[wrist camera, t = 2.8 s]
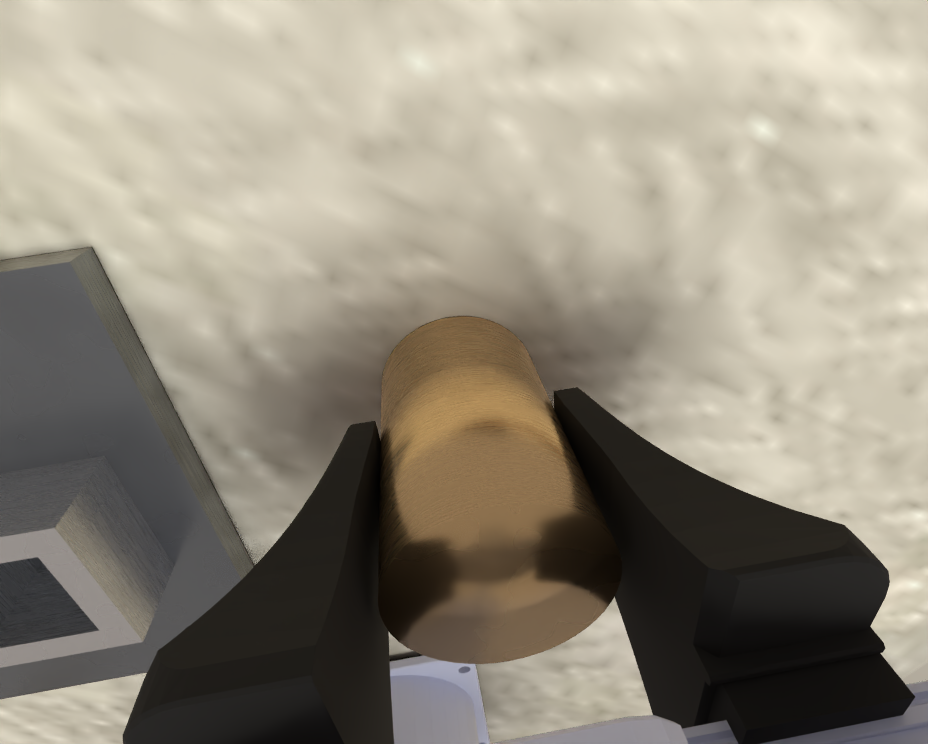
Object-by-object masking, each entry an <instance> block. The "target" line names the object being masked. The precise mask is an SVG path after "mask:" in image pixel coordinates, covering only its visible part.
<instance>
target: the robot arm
mask: <svg viewBox="0 0 928 744" xmlns="http://www.w3.org/2000/svg"><path fill="white" fill-rule="evenodd" d="M554 410H555V412H556V415H557V417H558V419H559V421H560V423H561V425H562V428H563V430H564V432H565V434H566V436H567V439H568V441H569V443H570V445H571V447H572V449H573V452H574V454H575V456H576V458H577V460H578V462H579V465H580V467H581V469H582V471H583V473H584V475H585V478H586V480H587V482H588V484H589V486H590V488H591V491H592V493H593V495H594V497H595V499H596V502H597V504H598V506H599V508H600V510H601V512H602V515H603V517H604V519H605V521H606V523H607V525H608V528H609V530H610V532H611V534H612V536H613V538H614V541H615V543H616V545H617V547H618V549H619V551H620V555H621V560H622V576H621V582H620V584H619V587H618V590H617V592H616V594H615V599H616V602H617V605H618V607H619V610H620V613H621V616H622V619H623V622H624V625H625V628H626V631H627V634H628V637H629V640H630V643H631V646H632V649H633V652H634V655H635V658H636V662H637V665H638V668H639V671H640V674H641V677H642V680H643V684H644V687H645V690H646V693H647V696H648V700H649V703H650V706H651V710H652V713H653V715H650V716H634V717H624V718H619V719H614V720H609V721H604V722H598V723H593V724H588V725H583V726H578V727H573V728H568V729H563V730H557V731H552V732H547V733H542V734H537V735H532V736H527V737H522V738H516V739H511V740H506V741H501V742H496V743H491V744H928V680H927V681H922V682H917V683H912V684H907V685H905V683H904V682H903V681H902V680H901V678H900V677H899V676H898V675H897V674H896V672H895V671H894V670H893V669H892V667H891V666H890V665H889V664H888V662H887V661H886V660H885V659H884V658H883V656H882V655H881V654H880V653H882V652H883V651H884V650H885V646H884V643H883V642H882V640H881V639H880V638H879V637H878V636H877V634H876V633H875V632H874V631H873V630H872V628H871V627H870V626H871V624H872V622H873V620H874V618H875V616H876V614H877V612H878V610H879V608H880V607H881V605H882V603H883V601H884V599H885V597H886V594H887V590H888V587H889V583H890V580H889V573H888V570H887V569H886V568H885V567H884V565H883V564H882V563H881V562H880V561H879V560H878V559H877V558H876V556H875V555H874V554H873V553H872V552H871V551H870V550H869V549H868V548H867V547H866V546H865V545H864V544H863V543H862V542H861V541H860V540H859V539H858V538H857V537H856V536H855V535H854V534H853V533H852V532H851V531H850V530H849V529H848V528H847V527H846V526H845V525H842V524H839V523H835V522H832V521H829V520H825V519H822V518H819V517H815V516H812V515H808V514H805V513H802V512H798V511H795V510H792V509H789V508H786V507H783V506H780V505H778V504H775V503H772V502H769V501H767V500H764V499H761V498H758V497H756V496H753V495H751V494H748V493H746V492H743V491H741V490H739V489H736V488H734V487H732V486H730V485H727V484H725V483H723V482H721V481H718V480H716V479H714V478H712V477H710V476H708V475H706V474H704V473H702V472H700V471H698V470H696V469H694V468H692V467H690V466H688V465H687V464H685V463H683V462H681V461H679V460H677V459H676V458H674V457H672V456H670V455H669V454H667V453H665V452H664V451H662V450H661V449H659V448H657V447H656V446H654V445H653V444H651V443H650V442H648V441H647V440H645V439H644V438H642V437H641V436H639V435H638V434H636V433H635V432H634V431H632V430H631V429H630V428H628V427H627V426H626V425H624V424H623V423H621V422H620V421H619V420H617V419H616V418H615V417H614V416H612V415H611V414H610V413H609V412H607V411H606V410H605V409H604V408H602V407H601V406H600V405H599V404H597V403H596V402H595V401H594V400H592V399H591V398H590V397H589V396H588V395H586V394H585V393H584V392H582V391H581V390H580V389H579V388H577V387H576V388H570V389H564V390H558V391H554ZM380 450H381V442H380V438H379V434H378V430H377V426H376V422H375V421H371V422H365V423H359V424H353V425H351V426H350V427H349V428H348V430H347V432H346V434H345V436H344V438H343V440H342V442H341V444H340V446H339V448H338V450H337V452H336V453H335V455H334V457H333V459H332V461H331V463H330V464H329V466H328V468H327V470H326V471H325V473H324V475H323V476H322V478H321V480H320V481H319V483H318V485H317V486H316V488H315V490H314V491H313V493H312V494H311V496H310V497H309V499H308V500H307V502H306V503H305V505H304V506H303V508H302V509H301V511H300V512H299V513H298V515H297V516H296V517H295V519H294V520H293V522H292V523H291V524H290V526H289V527H288V528H287V529H286V531H285V532H284V533H283V534H282V536H281V537H280V538H279V539H278V541H277V542H276V543H275V544H274V545H273V547H272V548H271V549H270V550H269V551H268V552H267V553H266V554H265V556H264V557H263V558H262V559H261V560H260V561H259V562H258V563H257V564H256V565H255V566H254V567H253V568H252V569H251V571H250V572H249V573H248V574H247V575H246V576H245V577H244V578H243V579H242V580H241V581H240V582H239V583H238V584H236V585H235V586H234V587H233V588H232V589H231V590H230V591H229V592H228V593H227V594H226V595H225V596H224V597H223V598H221V599H220V600H219V601H218V602H217V603H216V604H215V605H214V606H213V607H211V608H210V609H209V610H208V611H207V612H206V613H204V614H203V615H202V616H201V617H200V618H198V619H197V620H196V621H195V622H193V623H192V624H191V625H190V626H188V627H187V628H186V629H185V630H183V631H182V632H181V633H180V634H178V635H177V636H176V637H175V638H173V639H172V640H171V641H170V642H168V643H167V644H166V645H165V646H163V647H162V648H161V649H159V650H158V651H157V653H156V656H155V658H154V660H153V662H152V664H151V666H150V668H149V670H148V672H147V674H146V677H145V679H144V681H143V684H142V686H141V689H140V692H139V694H138V697H137V699H136V702H135V705H134V707H133V710H132V713H131V715H130V718H129V720H128V723H127V726H126V728H125V731H124V734H123V744H490V739H489V733H488V728H487V723H486V717H485V712H484V706H483V701H482V696H481V690H480V685H479V680H478V674H477V669H476V664H464V663H453V662H447V661H441V660H437V659H434V658H430V657H427V656H424V655H423V656H418V657H412V658H407V659H401V660H396V661H391V662H390V660H389V636H388V629H387V628H386V627H385V625H384V623H383V621H382V619H381V617H380V613H379V608H378V562H379V506H380Z"/></svg>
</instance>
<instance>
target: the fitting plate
mask: <svg viewBox="0 0 928 744" xmlns="http://www.w3.org/2000/svg"><path fill="white" fill-rule="evenodd" d="M253 567H254V565H253V563H252V561H251V559H250V557H249V555H248V554H247V552H246V550H245V548H244V546H243V544H242V542H241V540H240V538H239V536H238V534H237V532H236V530H235V528H234V526H233V524H232V522H231V520H230V518H229V516H228V514H227V512H226V510H225V508H224V506H223V504H222V502H221V500H220V499H219V497H218V495H217V493H216V491H215V489H214V487H213V485H212V483H211V481H210V479H209V477H208V475H207V473H206V471H205V469H204V467H203V465H202V463H201V461H200V459H199V457H198V455H197V453H196V451H195V449H194V447H193V445H192V443H191V442H190V440H189V438H188V436H187V434H186V432H185V430H184V428H183V426H182V424H181V422H180V420H179V418H178V416H177V414H176V412H175V410H174V408H173V406H172V404H171V402H170V400H169V398H168V396H167V394H166V392H165V390H164V388H163V387H162V385H161V383H160V381H159V379H158V377H157V375H156V373H155V371H154V369H153V367H152V365H151V363H150V361H149V359H148V357H147V355H146V353H145V351H144V349H143V347H142V345H141V343H140V341H139V339H138V337H137V335H136V333H135V331H134V330H133V328H132V326H131V324H130V322H129V320H128V318H127V316H126V314H125V312H124V310H123V308H122V306H121V304H120V302H119V300H118V298H117V296H116V294H115V292H114V290H113V288H112V286H111V284H110V282H109V280H108V278H107V276H106V275H105V273H104V271H103V269H102V267H101V265H100V263H99V261H98V259H97V257H96V255H95V253H94V251H93V249H92V247H89V248H82V249H75V250H69V251H62V252H55V253H48V254H41V255H35V256H28V257H21V258H14V259H8V260H1V261H0V699H4V698H10V697H15V696H21V695H26V694H32V693H37V692H43V691H48V690H53V689H59V688H64V687H70V686H75V685H81V684H86V683H92V682H97V681H102V680H108V679H113V678H119V677H124V676H130V675H135V674H141V673H146V672H148V670H149V668H150V666H151V664H152V662H153V660H154V658H155V656H156V653H157V651H158V650H159V649H161V648H162V647H163V646H165V645H166V644H167V643H168V642H170V641H171V640H172V639H173V638H175V637H176V636H177V635H178V634H180V633H181V632H182V631H183V630H185V629H186V628H187V627H188V626H190V625H191V624H192V623H193V622H195V621H196V620H197V619H198V618H200V617H201V616H202V615H203V614H204V613H206V612H207V611H208V610H209V609H210V608H211V607H213V606H214V605H215V604H216V603H217V602H218V601H219V600H220V599H221V598H223V597H224V596H225V595H226V594H227V593H228V592H229V591H230V590H231V589H232V588H233V587H234V586H235V585H236V584H238V583H239V582H240V581H241V580H242V579H243V578H244V577H245V576H246V575H247V574H248V573H249V572H250V571H251V569H252V568H253Z"/></svg>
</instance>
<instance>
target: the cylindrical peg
mask: <svg viewBox="0 0 928 744" xmlns="http://www.w3.org/2000/svg"><path fill="white" fill-rule="evenodd" d="M621 576H622V560H621V555H620V551H619V549H618V547H617V545H616V543H615V541H614V538H613V536H612V534H611V532H610V530H609V528H608V525H607V523H606V521H605V519H604V517H603V515H602V512H601V510H600V508H599V506H598V504H597V502H596V499H595V497H594V495H593V493H592V491H591V488H590V486H589V484H588V482H587V480H586V478H585V475H584V473H583V471H582V469H581V467H580V465H579V462H578V460H577V458H576V456H575V454H574V452H573V449H572V447H571V445H570V443H569V441H568V439H567V436H566V434H565V432H564V430H563V428H562V425H561V423H560V421H559V419H558V417H557V415H556V412H555V410H554V408H553V406H552V404H551V402H550V399H549V397H548V395H547V393H546V391H545V389H544V386H543V384H542V382H541V380H540V378H539V376H538V373H537V371H536V369H535V367H534V365H533V363H532V360H531V358H530V356H529V354H528V352H527V350H526V348H525V347H524V345H523V344H522V342H521V341H520V340H519V339H518V338H517V337H516V336H515V335H514V334H513V333H512V332H510V331H509V330H508V329H506V328H504V327H503V326H501V325H499V324H497V323H495V322H492V321H489V320H486V319H482V318H477V317H467V316H458V317H448V318H444V319H439V320H436V321H433V322H430V323H428V324H426V325H424V326H422V327H419V328H418V329H416V330H415V331H413V332H412V333H410V334H409V335H408V336H406V337H405V338H404V339H403V340H402V341H401V342H400V343H399V344H398V345H397V346H396V347H395V349H394V350H393V352H392V353H391V355H390V356H389V358H388V360H387V363H386V365H385V368H384V371H383V376H382V394H381V450H380V506H379V562H378V608H379V613H380V617H381V619H382V621H383V623H384V625H385V627H386V628H387V629H388V631H389V632H390V634H391V635H392V636H393V637H395V638H396V639H397V640H398V641H399V642H400V643H402V644H403V645H404V646H406V647H407V648H409V649H411V650H413V651H415V652H417V653H419V654H422V655H424V656H427V657H430V658H434V659H437V660H441V661H447V662H453V663H464V664H486V663H498V662H504V661H511V660H515V659H520V658H524V657H528V656H531V655H534V654H537V653H540V652H543V651H545V650H548V649H551V648H553V647H555V646H557V645H559V644H561V643H563V642H565V641H567V640H569V639H570V638H572V637H574V636H576V635H577V634H578V633H580V632H581V631H583V630H584V629H586V628H587V627H588V626H589V625H590V624H592V623H593V622H594V621H595V620H596V619H597V618H598V617H599V616H600V615H601V614H602V613H603V612H604V611H605V610H606V608H607V607H608V605H609V604H610V603H611V601H612V600H613V598H614V596H615V594H616V592H617V590H618V587H619V584H620V582H621Z"/></svg>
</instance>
